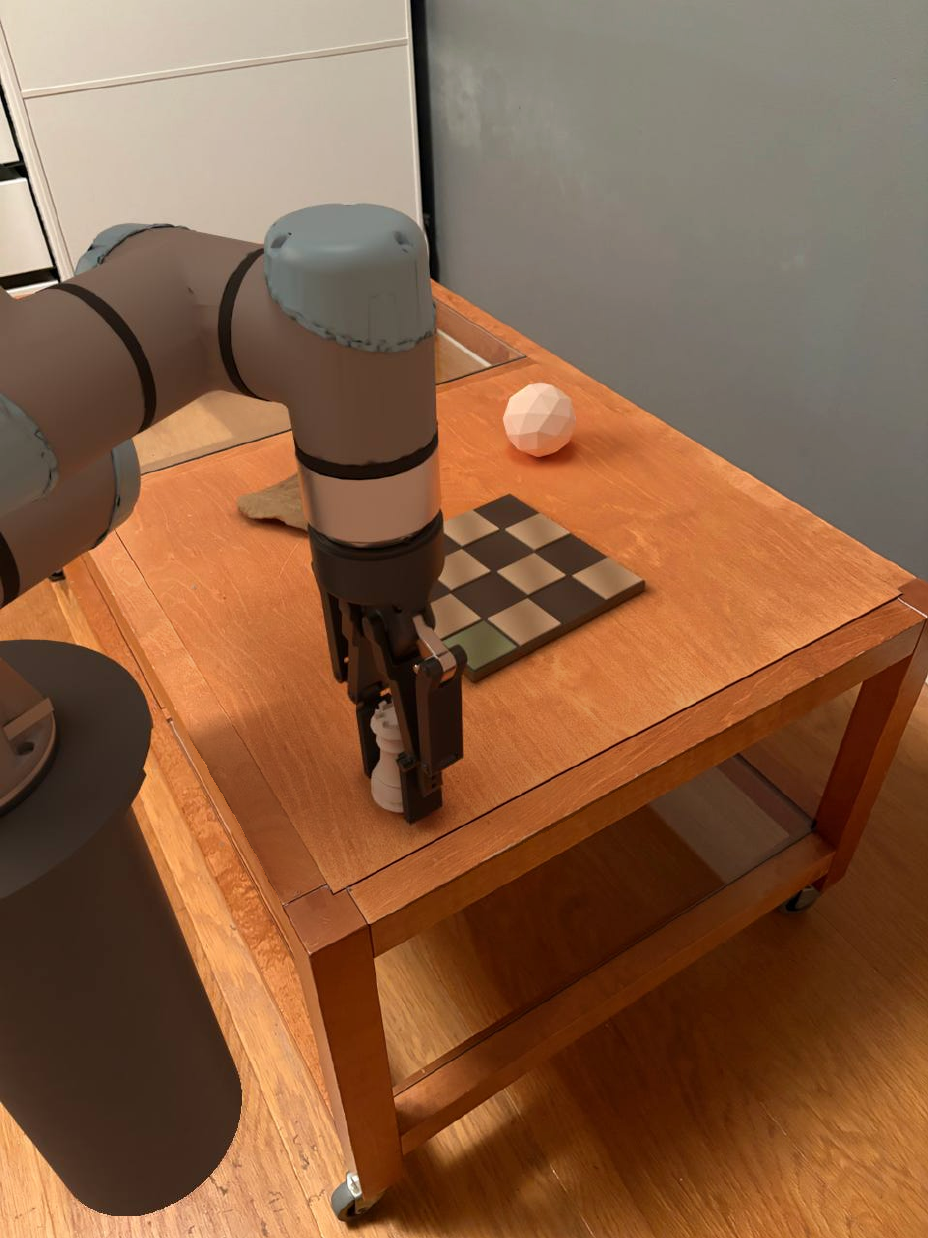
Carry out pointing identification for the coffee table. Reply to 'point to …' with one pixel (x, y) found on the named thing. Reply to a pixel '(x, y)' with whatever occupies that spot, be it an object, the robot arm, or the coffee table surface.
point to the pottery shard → (276, 503)
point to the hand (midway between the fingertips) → (402, 789)
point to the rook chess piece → (387, 759)
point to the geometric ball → (539, 419)
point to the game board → (518, 584)
